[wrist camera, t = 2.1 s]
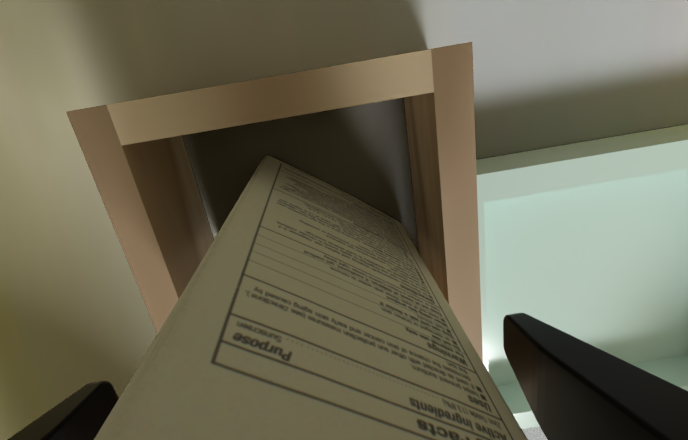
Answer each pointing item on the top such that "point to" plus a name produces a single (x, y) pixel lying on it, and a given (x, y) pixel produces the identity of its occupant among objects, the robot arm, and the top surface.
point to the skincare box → (310, 334)
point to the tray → (588, 251)
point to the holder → (274, 103)
